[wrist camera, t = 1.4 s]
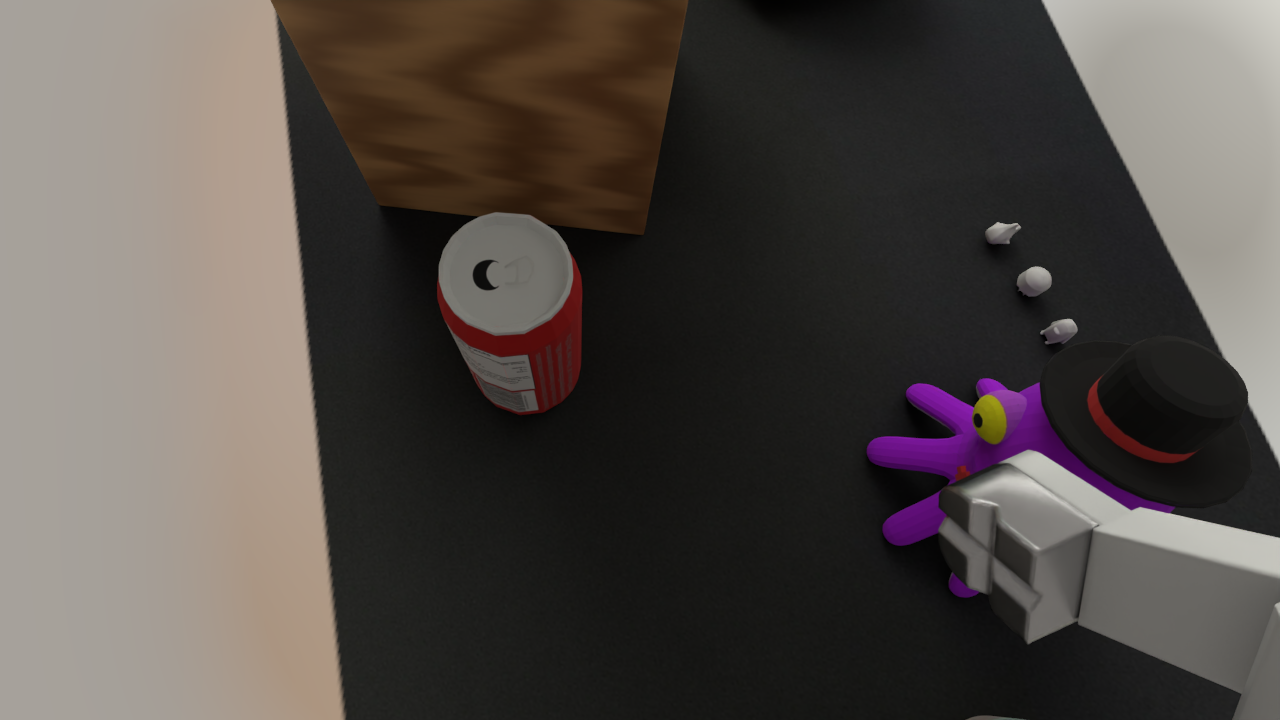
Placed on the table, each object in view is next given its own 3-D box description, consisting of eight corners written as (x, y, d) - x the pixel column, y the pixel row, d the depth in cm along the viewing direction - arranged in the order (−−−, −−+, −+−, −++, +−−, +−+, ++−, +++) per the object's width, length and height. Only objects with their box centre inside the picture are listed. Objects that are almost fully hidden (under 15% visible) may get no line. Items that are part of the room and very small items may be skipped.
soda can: (577, 315, 37) (577, 198, 26) (583, 413, 36) (587, 333, 24) (474, 321, 37) (427, 203, 25) (476, 420, 35) (427, 342, 24)
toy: (851, 391, 37) (1020, 273, 23) (1038, 376, 38) (1308, 256, 24) (894, 605, 34) (1123, 621, 20) (1097, 581, 35) (1450, 581, 21)
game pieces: (976, 232, 41) (994, 215, 39) (1005, 224, 41) (1025, 207, 40) (1037, 352, 39) (1060, 341, 37) (1068, 343, 39) (1092, 331, 37)
